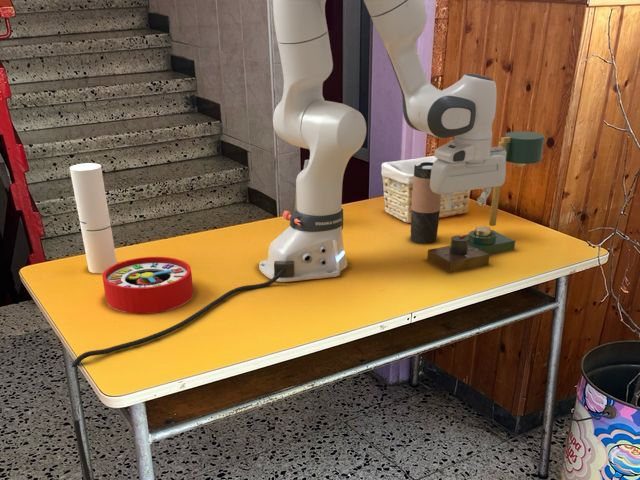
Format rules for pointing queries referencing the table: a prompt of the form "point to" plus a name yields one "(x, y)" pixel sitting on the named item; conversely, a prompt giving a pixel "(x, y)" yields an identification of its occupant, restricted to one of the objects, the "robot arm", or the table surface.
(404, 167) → the basket
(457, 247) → the dimmer knob
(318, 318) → the table surface
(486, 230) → the power button
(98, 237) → the cylindrical container
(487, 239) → the lamp base
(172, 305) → the toy clock
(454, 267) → the dimmer
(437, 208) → the travel mug
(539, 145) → the desk lamp
